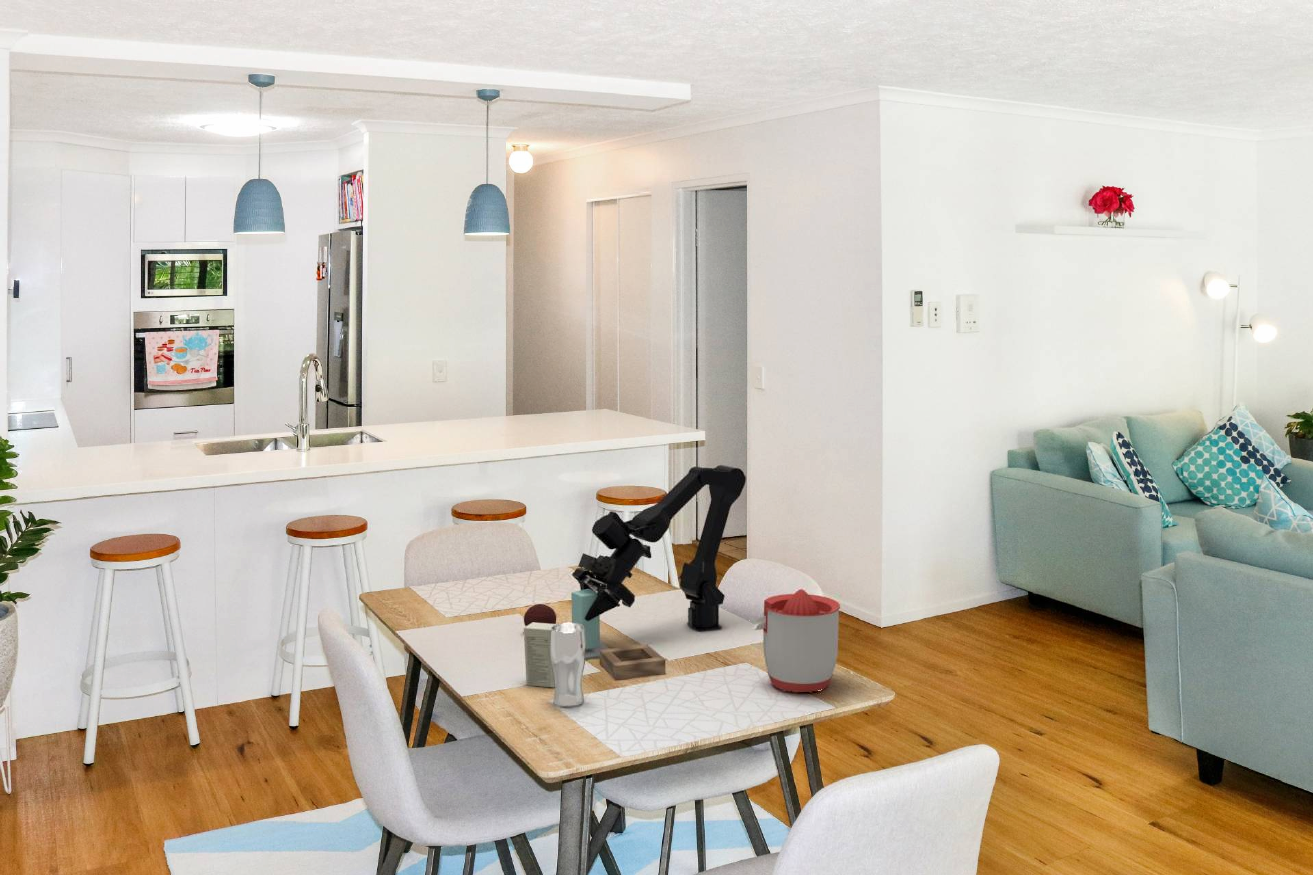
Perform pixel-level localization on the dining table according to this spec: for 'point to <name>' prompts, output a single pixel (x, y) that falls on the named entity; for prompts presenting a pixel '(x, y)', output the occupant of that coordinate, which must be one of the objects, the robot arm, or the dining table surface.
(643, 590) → the dining table surface
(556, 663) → the beer glass
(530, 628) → the skincare box
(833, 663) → the citrus juicer
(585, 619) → the robot arm
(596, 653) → the slate coaster
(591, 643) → the teal block
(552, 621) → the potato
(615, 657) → the walnut pocket
